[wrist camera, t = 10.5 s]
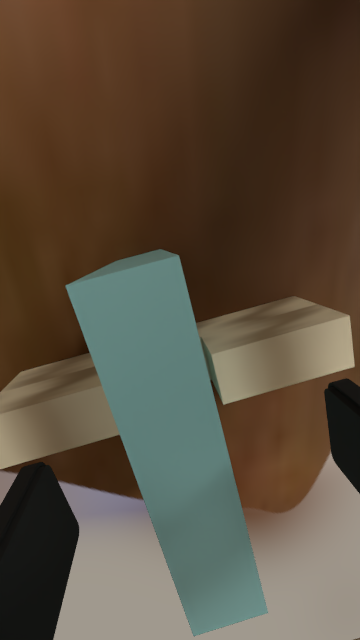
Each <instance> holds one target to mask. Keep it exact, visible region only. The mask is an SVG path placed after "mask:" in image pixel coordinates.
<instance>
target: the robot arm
mask: <svg viewBox="0 0 360 640" xmlns="http://www.w3.org/2000/svg"><path fill="white" fill-rule="evenodd" d="M324 393H325V402H326V411H327V419H328V428H329V436H330V445H331V453H332V457H333V459H334V461H335V463H336V464H337V466H338V467H339V468H340V470H341V471H342V472H343V473H344V475H345V476H346V477H347V478H348V480H349V481H350V482H351V483H352V485H353V486H354V487H355V488H356V489H357V491H358V492H359V493H360V387H359V386H358V385H356V384H355V383H354V382H352V381H351V380H349V379H342V380H339V381H335V382H331V383H329V385H328V388H327V389H325V391H324ZM78 537H79V525H78V522H77V520H76V518H75V516H74V514H73V512H72V510H71V508H70V506H69V504H68V502H67V500H66V497H65V495H64V493H63V491H62V489H61V487H60V485H59V483H58V481H57V479H56V477H55V475H54V473H53V471H52V469H51V467H50V466H49V465H45V464H44V463H43V462H39V463H35V464H32V465H28V466H24V467H23V468H22V469H21V470H20V472H19V473H18V475H17V477H16V479H15V480H14V482H13V484H12V486H11V487H10V489H9V491H8V493H7V494H6V496H5V498H4V500H3V502H2V503H1V505H0V640H53V638H54V634H55V629H56V625H57V621H58V618H59V613H60V610H61V606H62V602H63V598H64V593H65V590H66V586H67V581H68V577H69V574H70V569H71V565H72V561H73V557H74V553H75V549H76V545H77V541H78ZM354 640H360V638H358V639H354Z"/></svg>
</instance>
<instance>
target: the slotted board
mask: <svg viewBox="0 0 360 640" xmlns="http://www.w3.org/2000/svg"><path fill="white" fill-rule="evenodd" d="M196 326H197V330H198V334H199V338H200V342H201V346H202V350H203V354H204V358H205V362H206V366H207V370H208V374H209V378H210V380H212V381H213V383H214V385H215V388H216V390H217V392H218V394H219V396H220V398H221V400H222V403H223V405H224V404H227V403H231V402H234V401H238V400H241V399H245V398H248V397H252V396H255V395H259V394H262V393H265V392H269V391H272V390H276V389H279V388H283V387H286V386H290V385H293V384H297V383H300V382H303V381H307V380H310V379H314V378H317V377H321V376H324V375H328V374H331V373H335V372H338V371H341V370H345V369H348V368H352V367H355V365H354V355H353V345H352V334H351V324H350V315H347V314H344V313H341V312H338V311H336V310H333V309H330V308H327V307H324V306H321V305H318V304H316V303H313V302H310V301H307V300H304V299H301V298H298V297H296V296H292V297H288V298H285V299H281V300H277V301H274V302H270V303H267V304H263V305H259V306H256V307H252V308H249V309H245V310H241V311H238V312H234V313H231V314H227V315H223V316H220V317H216V318H213V319H209V320H205V321H202V322H198V323H196ZM117 435H120V434H119V431H118V428H117V425H116V423H115V420H114V417H113V414H112V412H111V409H110V406H109V404H108V401H107V398H106V395H105V393H104V390H103V387H102V384H101V382H100V379H99V376H98V373H97V371H96V368H95V365H94V363H93V360H92V357H91V354H90V353H87V354H83V355H79V356H76V357H72V358H69V359H65V360H61V361H58V362H54V363H51V364H47V365H44V366H40V367H36V368H33V369H29V370H26V371H22V372H20V373H19V374H18V375H17V376H16V377H15V378H14V379H13V380H12V381H11V382H10V383H9V384H8V385H7V386H6V387H5V388H4V389H3V390H2V391H1V392H0V469H3V468H6V467H10V466H13V465H17V464H20V463H23V462H27V461H30V460H34V459H37V458H41V457H44V456H48V455H51V454H55V453H58V452H61V451H65V450H68V449H72V448H75V447H79V446H82V445H86V444H89V443H93V442H96V441H100V440H103V439H106V438H110V437H113V436H117Z"/></svg>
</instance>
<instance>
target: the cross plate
mask: <svg viewBox="0 0 360 640" xmlns="http://www.w3.org/2000/svg"><path fill="white" fill-rule="evenodd" d="M66 289H67V292H68V294H69V297H70V300H71V302H72V305H73V308H74V311H75V313H76V316H77V319H78V322H79V324H80V327H81V330H82V332H83V335H84V338H85V341H86V343H87V346H88V349H89V352H90V354H91V357H92V360H93V363H94V365H95V368H96V371H97V373H98V376H99V379H100V382H101V384H102V387H103V390H104V393H105V395H106V398H107V401H108V404H109V406H110V409H111V412H112V414H113V417H114V420H115V423H116V425H117V428H118V431H119V434H120V436H121V439H122V442H123V444H124V447H125V450H126V453H127V455H128V458H129V461H130V464H131V466H132V469H133V472H134V475H135V477H136V480H137V483H138V485H139V488H140V491H141V494H142V496H143V499H144V502H145V505H146V507H147V510H148V513H149V515H150V518H151V521H152V524H153V526H154V529H155V532H156V535H157V537H158V540H159V543H160V545H161V548H162V551H163V554H164V556H165V559H166V562H167V565H168V567H169V570H170V573H171V576H172V578H173V581H174V583H175V586H176V589H177V592H178V595H179V597H180V600H181V603H182V606H183V608H184V611H185V614H186V616H187V619H188V622H189V625H190V627H191V630H192V633H193V636H196V635H200V634H203V633H205V632H209V631H212V630H215V629H219V628H222V627H225V626H228V625H231V624H234V623H237V622H241V621H244V620H247V619H250V618H253V617H256V616H259V615H263V614H266V613H268V611H267V607H266V603H265V599H264V595H263V591H262V587H261V583H260V579H259V575H258V571H257V567H256V563H255V559H254V555H253V551H252V547H251V543H250V539H249V534H248V530H247V526H246V522H245V518H244V514H243V510H242V506H241V502H240V498H239V494H238V490H237V486H236V482H235V478H234V474H233V470H232V466H231V462H230V458H229V454H228V450H227V446H226V442H225V438H224V434H223V430H222V426H221V422H220V418H219V414H218V410H217V406H216V402H215V398H214V394H213V390H212V386H211V382H210V378H209V374H208V370H207V366H206V362H205V358H204V354H203V350H202V346H201V342H200V338H199V334H198V330H197V326H196V322H195V318H194V314H193V310H192V306H191V302H190V298H189V294H188V290H187V286H186V282H185V278H184V274H183V270H182V266H181V262H180V258H179V255H176V254H173V253H170V252H168V251H165V250H162V249H159V250H155V251H151V252H148V253H144V254H140V255H136V256H132V257H129V258H125V259H121V260H117V261H115V262H113V263H111V264H109V265H107V266H105V267H103V268H100V269H98V270H96V271H94V272H92V273H90V274H88V275H86V276H84V277H82V278H80V279H78V280H76V281H74V282H72V283H70V284H68V285H66Z"/></svg>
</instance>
